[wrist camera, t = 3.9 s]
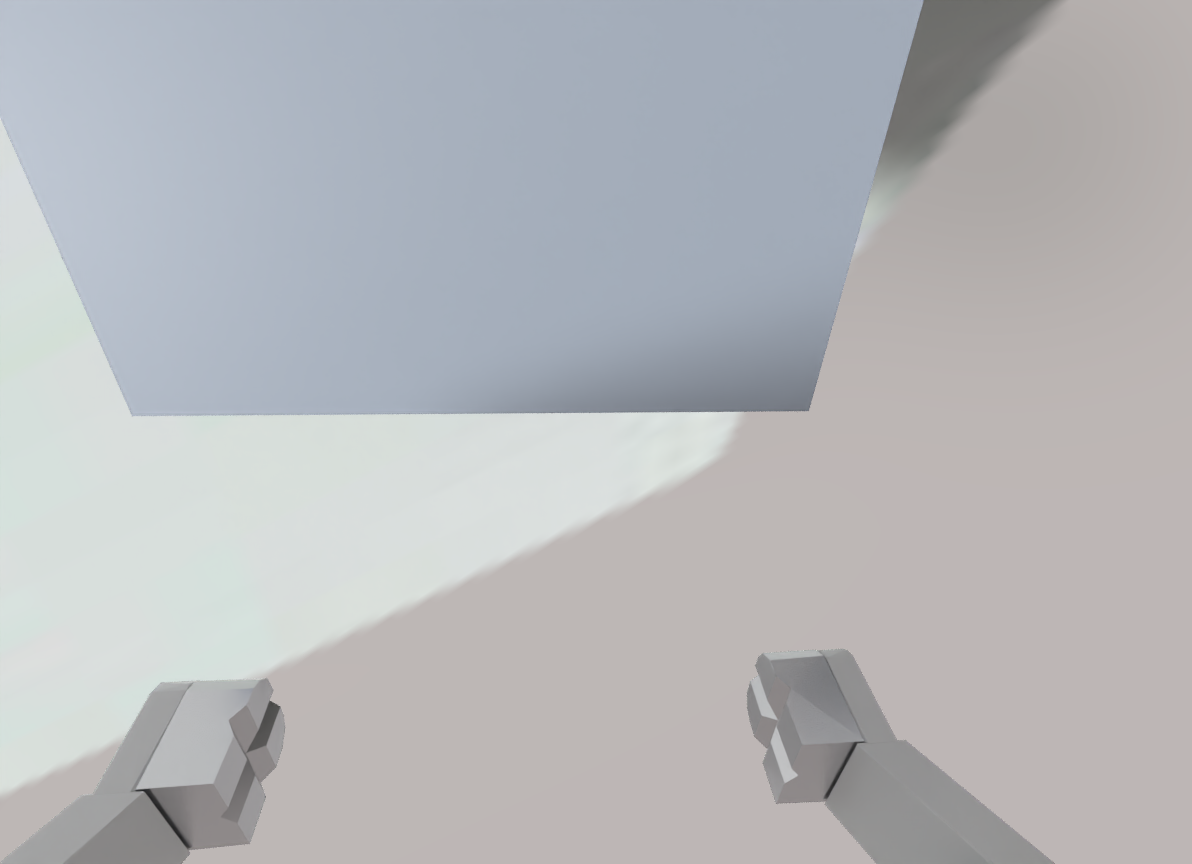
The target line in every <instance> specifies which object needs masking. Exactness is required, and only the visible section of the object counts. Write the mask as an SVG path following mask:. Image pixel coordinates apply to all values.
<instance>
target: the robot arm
mask: <svg viewBox="0 0 1192 864" xmlns="http://www.w3.org/2000/svg"><path fill="white" fill-rule="evenodd" d="M755 666H756V669H757V672H758V676H757V677H755V678H754V679H753V680H752V681H750V684H749V688H748V692H747V709H748V715H749V720H750V724H751V727H752V730H753V734H754V737H755V738H756V739H758V740H759V741H760V742H761V743H762V744H763V745H764V746H765V747H766V748H767V751H766V754H765V757H764V760H763V765H764V768H765V771H766V775H767V778H768V781H769V784H770V787H771V790H772V793H773V796H774V799H775V802H776V804H778V803H800V802H821V801H826V802H825V805H826V806H827V808H828V809H829V810H830V811H831V812H832V813H833V814H834V816H835V817H836V818H837V819H838V820H839V821H840V823H841V824H842V825H843V826H844V827H845V828H846V829H847V830H848V832H849V833H850V834H851V835H852V836H853V837H854V838H855V840H856V841H857V842H858V843H859V844H860V845H861V847H862V848H863V849H864V850H865V851H866V852H867V853H868V855H869V856H870V857H871V858H872V859H873V860H874V861H875V862H876V864H1054V862H1052V861H1051V860H1050V859H1049V858H1048V857H1046V856H1045V855H1044V854H1043V853H1042V852H1040V851H1039V850H1038V849H1037V848H1035V847H1034V846H1033V845H1032V844H1031V843H1030V842H1028V841H1027V840H1026V839H1024V838H1023V837H1022V836H1021V835H1020V834H1018V833H1017V832H1016V831H1015V830H1014V829H1013V828H1011V827H1010V826H1009V825H1008V824H1006V823H1005V822H1004V821H1003V820H1002V819H1000V818H999V817H998V816H997V815H996V814H994V813H993V812H992V811H991V810H989V809H988V808H987V807H986V806H985V805H984V804H982V803H981V802H980V801H979V800H977V799H976V798H975V797H974V796H973V795H971V794H970V793H969V792H968V791H967V790H965V789H964V788H963V787H962V786H960V785H959V784H958V783H957V782H956V781H954V780H953V779H952V778H951V777H949V776H948V775H947V774H946V773H945V772H944V771H942V770H941V769H940V768H939V767H938V766H936V765H935V764H934V763H933V762H931V761H930V760H929V759H928V758H927V757H925V756H924V755H923V754H922V753H920V752H919V751H918V750H917V749H916V748H915V747H913V746H912V745H911V744H910V743H908V742H907V741H906V740H897V739H896V737H895V735H894V733H893V731H892V729H891V728H890V726H889V724H888V722H887V720H886V718H885V716H884V714H883V712H882V710H881V708H880V706H879V704H878V703H877V701H876V699H875V697H874V695H873V693H872V691H871V689H870V687H869V685H868V684H867V682H866V680H865V678H864V676H863V674H862V672H861V670H860V668H859V666H858V664H857V663H856V661H855V659H854V657H853V655H852V654H851V653H850V652H849V651H848V650H845V649H834V650H833V649H832V650H817V651H816V650H804V651H790V652H774V653H763V654H761V655H760V656H759V657H758V660H757V662H756V665H755ZM272 693H273V689H272V687H271V685H270V683H269V681H268V679H267V678H263V679H239V680H214V681H182V682H163V683H160V684H159V685H158V686H157V687H156V688H155V689H154V690H153V691H152V692H151V693H150V694H149V696H148V698H147V700H146V701H145V703H144V705H143V707H142V708H141V710H140V712H139V714H138V715H137V717H136V719H135V721H134V722H133V724H132V726H131V727H130V729H129V731H128V733H127V734H126V736H125V738H124V740H123V741H122V743H121V745H120V747H119V748H118V750H117V752H116V754H115V756H114V757H113V759H112V761H111V762H110V764H109V766H108V768H107V769H106V771H105V773H104V775H103V777H102V778H101V780H100V782H99V783H98V785H97V787H96V789H95V790H94V792H93V794H86V795H81V796H80V797H78V798H77V799H76V800H75V801H74V802H72V803H71V804H70V805H69V806H67V807H66V808H65V809H64V810H62V811H61V812H60V813H59V814H58V815H56V816H55V817H54V818H53V819H52V820H50V821H49V822H48V823H47V824H46V825H44V826H43V827H42V828H41V829H40V830H38V831H37V832H36V833H35V834H33V835H32V836H31V837H30V838H29V839H27V840H26V841H25V842H24V843H22V844H21V845H20V846H19V847H18V848H17V849H15V850H14V851H13V852H12V853H10V854H9V855H8V856H7V857H5V858H4V859H3V860H2V861H1V862H0V864H182V863H183V861H184V860H185V859H186V858H187V857H188V856H189V854H190V852H189V850H195V849H204V848H214V847H224V846H233V845H242V844H250V842H251V839H252V836H253V833H254V830H255V827H256V824H257V821H258V819H259V815H260V813H261V810H262V807H263V804H264V801H265V798H266V796H265V793H264V790H263V787H262V785H261V782H262V781H263V780H264V779H265V778H266V776H268V775H269V774H270V773H271V772H272V771H273V770H274V769H275V768H276V766H277V763H278V760H279V757H280V754H281V751H282V747H283V739H284V733H285V723H284V715H283V712H282V710H281V707H280V706H278V705H277V704H275V703H273V702H271V701H270V698H271V695H272Z"/></svg>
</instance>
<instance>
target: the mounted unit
mask: <svg viewBox="0 0 1192 864" xmlns="http://www.w3.org/2000/svg"><path fill="white" fill-rule="evenodd" d="M923 1H924V0H0V118H1V120H2V122H3V125H4V127H5V129H6V131H7V134H8V136H9V138H10V141H11V143H12V145H13V147H14V150H15V152H16V154H17V156H18V159H19V161H20V163H21V165H22V168H23V170H24V172H25V174H26V177H27V179H28V181H29V184H30V186H31V188H32V190H33V193H34V195H35V197H36V199H37V202H38V204H39V206H40V208H41V211H42V213H43V215H44V217H45V220H46V222H47V224H48V227H49V229H50V231H51V233H52V236H53V238H54V240H55V242H56V245H57V247H58V249H59V251H60V254H61V256H62V258H63V261H64V263H65V265H66V267H67V270H68V272H69V274H70V276H71V279H72V281H73V283H74V285H75V288H76V290H77V292H78V294H79V297H80V299H81V301H82V304H83V306H84V308H85V310H86V313H87V315H88V317H89V319H90V322H91V324H92V326H93V328H94V331H95V333H96V335H97V337H98V340H99V342H100V344H101V347H102V349H103V351H104V353H105V356H106V358H107V360H108V362H109V365H110V367H111V369H112V371H113V374H114V376H115V378H116V380H117V383H118V385H119V387H120V390H121V392H122V394H123V396H124V399H125V401H126V403H127V405H128V408H129V410H130V412H131V414H132V416H203V415H339V414H475V413H611V412H747V411H809V408H810V405H811V401H812V397H813V394H814V390H815V387H816V383H817V380H818V376H819V372H820V368H821V365H822V362H823V358H824V354H825V351H826V348H827V344H828V340H829V337H830V333H831V330H832V326H833V323H834V319H835V315H836V312H837V308H838V305H839V301H840V298H841V294H842V290H843V287H844V283H845V280H846V276H847V273H848V269H849V265H850V262H851V258H852V255H853V251H854V248H855V244H856V240H857V237H858V233H859V230H860V226H861V223H862V219H863V215H864V212H865V208H866V205H867V201H868V198H869V194H870V190H871V187H872V183H873V180H874V176H875V173H876V169H877V165H878V162H879V158H880V155H881V151H882V148H883V144H884V141H885V137H886V133H887V130H888V126H889V123H890V119H891V116H892V112H893V108H894V105H895V101H896V98H897V94H898V91H899V87H900V83H901V80H902V76H903V73H904V69H905V66H906V62H907V58H908V55H909V51H910V48H911V44H912V41H913V37H914V33H915V30H916V26H917V23H918V19H919V16H920V12H921V8H922V5H923Z"/></svg>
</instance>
